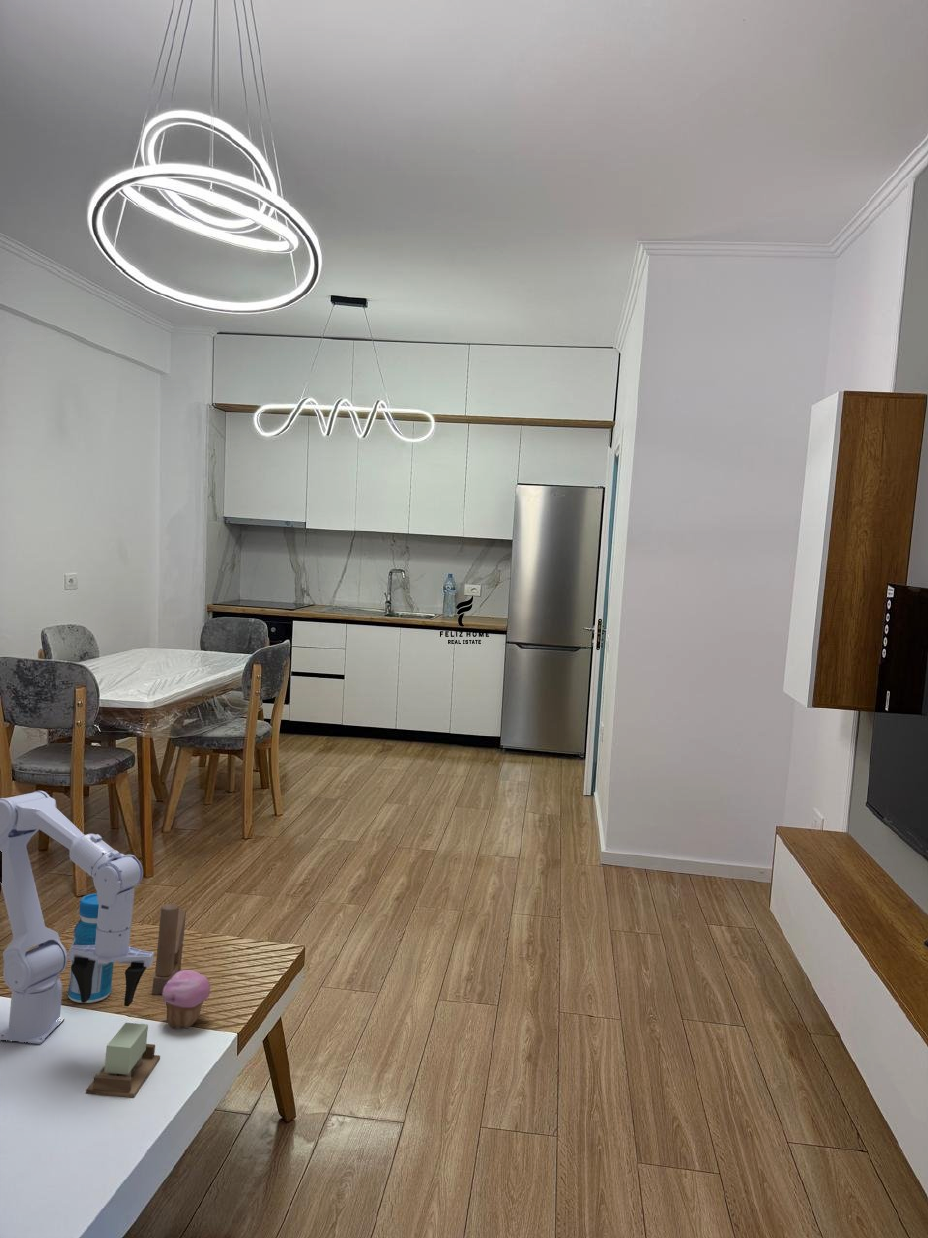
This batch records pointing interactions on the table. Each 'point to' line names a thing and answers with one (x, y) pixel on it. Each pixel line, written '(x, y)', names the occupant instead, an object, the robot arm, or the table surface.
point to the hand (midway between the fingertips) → (107, 1002)
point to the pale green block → (126, 1048)
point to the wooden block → (169, 945)
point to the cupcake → (185, 997)
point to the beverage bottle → (87, 936)
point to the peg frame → (125, 1077)
